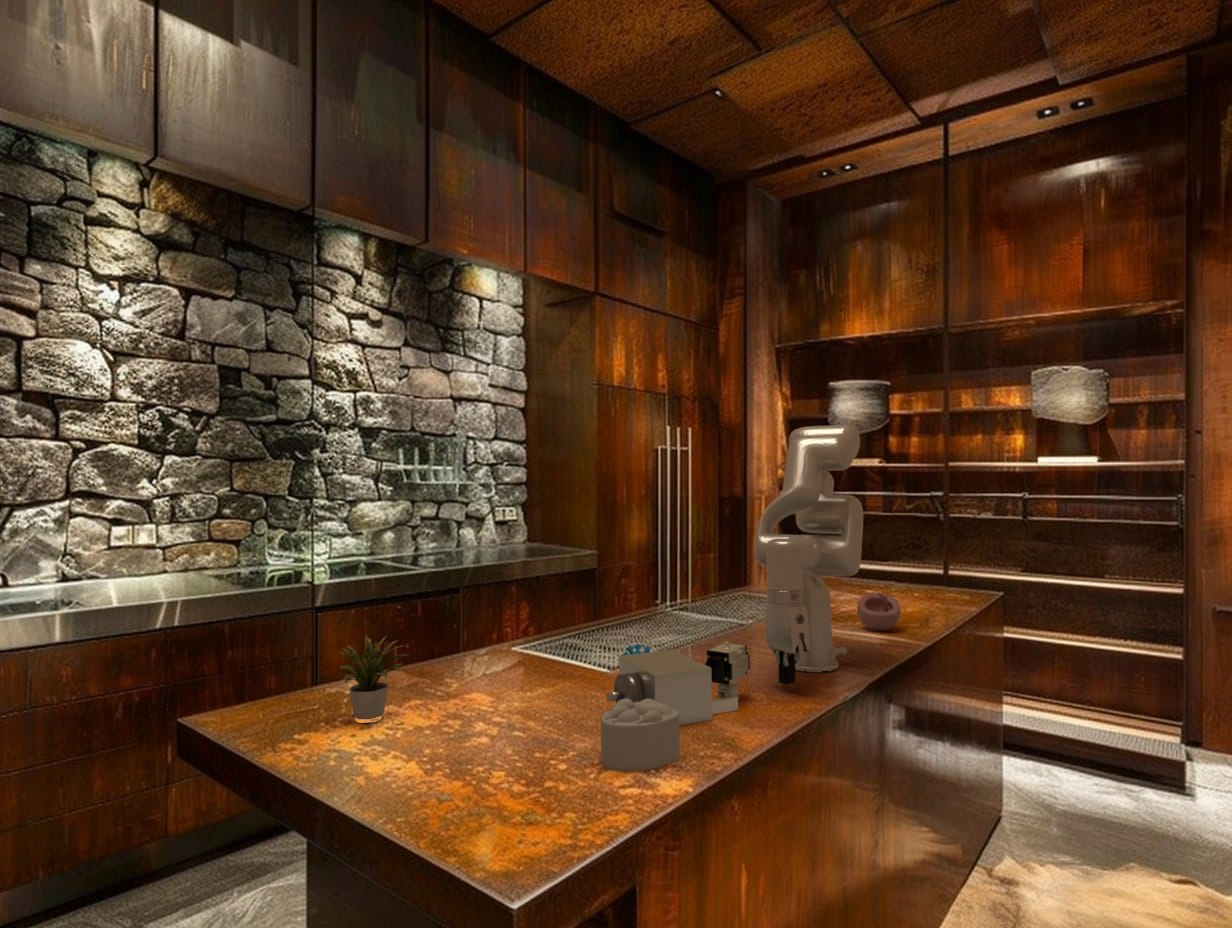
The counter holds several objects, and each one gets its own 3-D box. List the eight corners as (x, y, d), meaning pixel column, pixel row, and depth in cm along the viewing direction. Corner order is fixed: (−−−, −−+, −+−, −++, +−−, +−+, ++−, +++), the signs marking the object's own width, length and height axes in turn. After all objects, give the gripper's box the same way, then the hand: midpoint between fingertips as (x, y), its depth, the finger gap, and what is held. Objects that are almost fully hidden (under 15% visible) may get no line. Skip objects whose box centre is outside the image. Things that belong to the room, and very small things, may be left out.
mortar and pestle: (861, 634, 204) (860, 594, 204) (854, 625, 216) (853, 588, 216) (905, 635, 202) (904, 595, 202) (895, 626, 214) (894, 588, 214)
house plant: (371, 739, 125) (371, 646, 126) (310, 730, 130) (310, 641, 131) (420, 713, 139) (419, 630, 139) (363, 706, 144) (362, 626, 144)
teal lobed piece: (630, 680, 154) (620, 641, 161) (619, 694, 158) (610, 655, 165) (673, 681, 159) (662, 642, 166) (663, 695, 162) (652, 657, 169)
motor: (702, 691, 151) (701, 645, 151) (745, 714, 136) (744, 663, 136) (592, 708, 140) (591, 659, 141) (625, 734, 126) (624, 679, 126)
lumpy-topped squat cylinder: (688, 758, 115) (687, 705, 115) (624, 778, 108) (623, 721, 108) (648, 739, 124) (647, 690, 124) (586, 757, 116) (586, 704, 116)
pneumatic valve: (704, 706, 141) (703, 646, 141) (730, 691, 150) (729, 635, 151) (729, 711, 138) (728, 650, 138) (754, 696, 147) (753, 638, 148)
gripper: (822, 600, 145) (824, 690, 145) (778, 590, 159) (780, 671, 159) (793, 604, 142) (795, 695, 142) (750, 593, 156) (752, 676, 156)
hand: (787, 682), depth 150 cm, fingers closed
